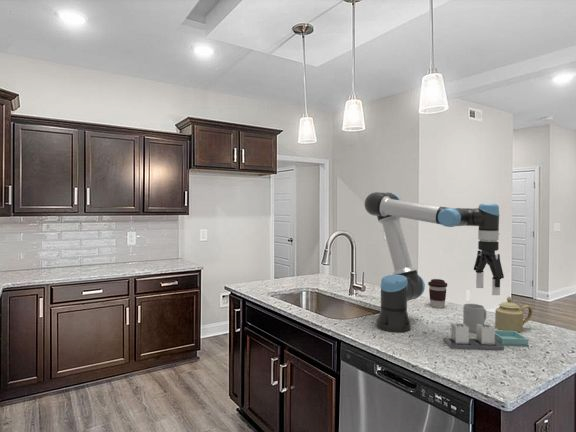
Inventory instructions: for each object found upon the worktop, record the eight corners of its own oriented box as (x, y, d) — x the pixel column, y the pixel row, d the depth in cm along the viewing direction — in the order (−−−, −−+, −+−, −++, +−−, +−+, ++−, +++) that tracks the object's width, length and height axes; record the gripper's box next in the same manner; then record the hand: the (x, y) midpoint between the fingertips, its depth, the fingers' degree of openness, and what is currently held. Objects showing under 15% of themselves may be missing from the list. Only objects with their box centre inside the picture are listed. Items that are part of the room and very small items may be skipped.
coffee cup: (441, 310, 206) (442, 282, 206) (424, 306, 214) (424, 279, 213) (450, 307, 213) (450, 280, 212) (433, 303, 220) (433, 277, 220)
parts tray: (501, 345, 154) (502, 338, 154) (490, 336, 164) (490, 330, 164) (528, 346, 153) (528, 339, 153) (515, 337, 163) (515, 331, 163)
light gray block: (455, 347, 152) (455, 326, 152) (451, 342, 157) (451, 322, 157) (468, 347, 151) (468, 326, 151) (463, 343, 156) (463, 322, 156)
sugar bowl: (509, 322, 184) (510, 291, 184) (533, 329, 174) (534, 296, 174) (489, 327, 177) (490, 295, 177) (513, 334, 167) (513, 300, 167)
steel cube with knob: (481, 347, 151) (481, 327, 151) (476, 343, 156) (476, 323, 156) (494, 348, 151) (495, 327, 151) (488, 343, 156) (489, 323, 156)
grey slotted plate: (450, 348, 150) (450, 345, 150) (443, 340, 159) (443, 337, 159) (503, 350, 149) (503, 347, 149) (492, 342, 158) (493, 339, 158)
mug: (474, 334, 168) (475, 309, 167) (458, 328, 175) (459, 304, 175) (493, 330, 173) (494, 306, 172) (477, 325, 180) (477, 302, 180)
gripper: (514, 243, 147) (513, 298, 147) (482, 238, 172) (482, 285, 172) (494, 243, 147) (493, 298, 148) (466, 238, 172) (465, 285, 172)
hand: (487, 291), depth 160 cm, fingers open, 13 cm apart
